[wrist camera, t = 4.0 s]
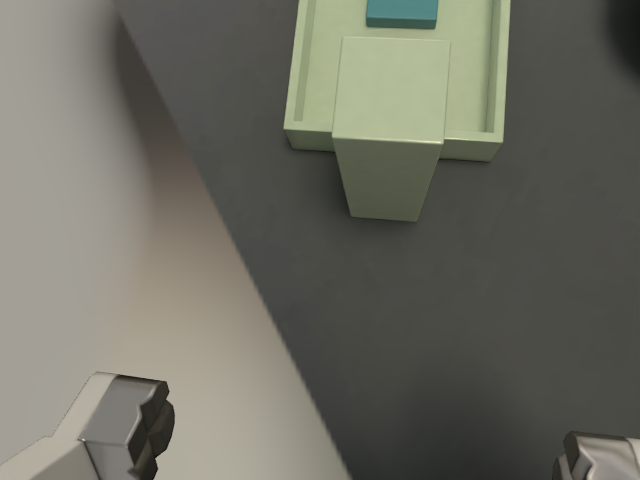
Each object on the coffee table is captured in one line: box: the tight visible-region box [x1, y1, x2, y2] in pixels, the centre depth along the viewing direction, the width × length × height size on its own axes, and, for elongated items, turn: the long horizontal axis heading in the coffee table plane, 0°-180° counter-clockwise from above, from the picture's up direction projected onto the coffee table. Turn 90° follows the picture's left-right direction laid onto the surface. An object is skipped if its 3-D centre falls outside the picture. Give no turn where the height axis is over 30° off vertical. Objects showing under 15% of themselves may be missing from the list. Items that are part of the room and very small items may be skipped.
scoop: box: [284, 0, 511, 222], centre depth 20 cm, size 14×9×10 cm, turn 174°
